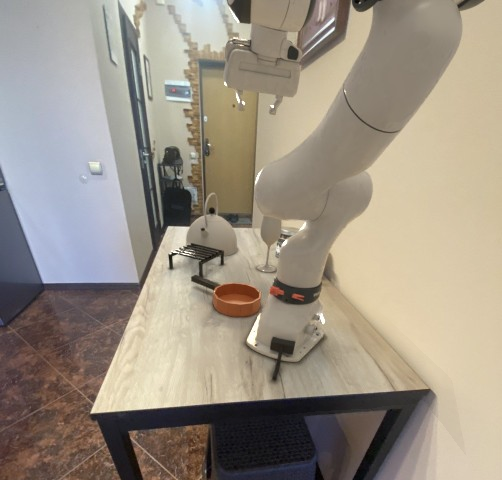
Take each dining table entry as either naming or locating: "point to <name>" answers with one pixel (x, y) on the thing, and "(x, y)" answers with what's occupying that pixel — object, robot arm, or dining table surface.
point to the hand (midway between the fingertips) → (256, 112)
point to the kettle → (212, 231)
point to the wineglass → (269, 237)
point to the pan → (232, 297)
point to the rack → (194, 249)
